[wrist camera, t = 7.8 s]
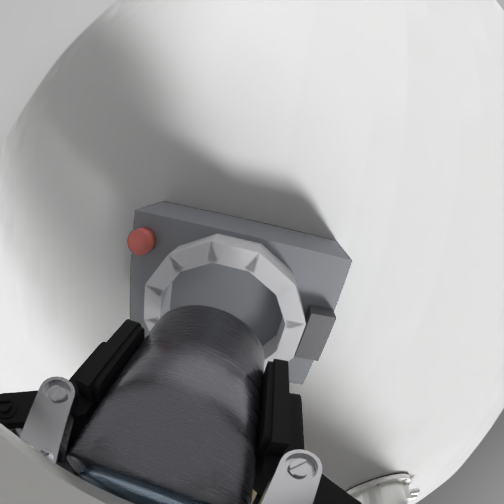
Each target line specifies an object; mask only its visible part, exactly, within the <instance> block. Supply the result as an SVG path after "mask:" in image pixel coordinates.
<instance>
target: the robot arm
mask: <svg viewBox="0 0 504 504" xmlns="http://www.w3.org/2000/svg"><path fill="white" fill-rule="evenodd" d="M144 339H145V330H144V328H142V327H141V324H140V323H138V322H135V321H132V320H129V319H127V320H126V321H125V322H124V323H123V324H122V325H121V327H120V328H119V329H118V330H117V331H116V332H115V333H114V334H113V336H112V337H111V338H110V339H109V340H108V341H107V342H102V343H101V344H100V345H99V346H98V347H97V348H96V349H95V351H94V352H93V353H92V354H91V355H90V356H89V357H88V359H87V360H86V361H85V362H84V363H83V364H82V366H81V367H80V368H79V369H78V370H77V371H76V373H75V374H74V375H73V376H72V377H71V378H70V380H67V379H65V378H63V377H51V378H49V379H47V380H45V381H44V382H43V383H42V385H41V386H40V388H39V391H29V392H17V393H3V394H0V504H134V503H132V502H129V501H127V500H124V499H122V498H120V497H117V496H115V495H113V494H111V493H108V492H106V491H104V490H102V489H100V488H98V487H96V486H94V485H92V484H90V483H88V482H86V481H84V480H83V479H81V478H79V477H78V475H79V474H78V473H77V472H76V471H75V470H74V469H73V468H72V467H71V465H70V464H69V462H68V460H67V454H68V452H69V451H70V449H71V448H72V446H73V444H74V443H75V441H76V440H77V438H78V437H79V435H80V433H81V432H82V430H83V429H84V427H85V426H86V424H87V422H88V421H89V419H90V418H91V416H92V415H93V413H94V412H95V410H96V409H97V407H98V406H99V404H100V403H101V401H102V400H103V398H104V397H105V395H106V394H107V392H108V391H109V389H110V388H111V386H112V385H113V383H114V382H115V380H116V379H117V378H118V376H119V375H120V373H121V372H122V370H123V369H124V367H125V366H126V365H127V363H128V362H129V360H130V359H131V357H132V356H133V355H134V353H135V352H136V350H137V349H138V347H139V346H140V345H141V343H142V342H143V340H144ZM322 467H323V466H322V463H321V461H320V459H319V458H318V457H317V456H316V455H315V454H313V453H312V452H309V451H307V450H304V436H303V419H302V403H301V396H300V395H298V394H291V393H289V366H288V361H285V360H280V359H274V360H273V362H271V361H268V363H267V365H266V368H265V371H264V374H263V387H262V399H261V410H260V422H259V433H258V443H257V454H256V465H255V474H254V484H253V490H254V491H255V492H256V494H255V496H254V498H253V500H252V502H251V504H408V502H407V501H410V500H414V499H415V498H416V497H417V494H418V493H419V491H420V490H419V488H415V489H412V490H409V487H408V485H409V484H410V482H411V477H410V475H408V474H394V475H389V476H385V477H381V478H377V479H374V480H371V481H368V482H366V483H363V484H361V485H358V486H356V487H354V488H352V489H350V490H348V491H347V492H345V491H344V490H343V489H341V488H340V487H339V486H337V485H336V484H334V483H333V482H332V481H331V480H329V479H328V478H327V477H325V476H324V475H323V474H322Z"/></svg>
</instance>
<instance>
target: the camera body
mask: <svg viewBox="0 0 504 504" xmlns="http://www.w3.org/2000/svg"><path fill="white" fill-rule="evenodd" d="M128 246H129V248H130V250H131V251H132V255H131V275H130V320H132V321H135V322H138V323H140V324H141V327H142V328H144V330H145V338H146V336H147V335H148V333H149V332H150V331H151V329H152V328H153V327H154V325H155V324H156V322H157V321H158V320H159V319H160V318H161V317H162V316H163V315H164V314H165V313H167V312H168V311H170V310H172V309H175V308H178V307H181V306H187V305H203V306H209V307H214V308H217V309H221V310H223V311H226V312H228V313H230V314H232V315H234V316H236V317H237V318H239V319H240V320H242V321H243V322H244V323H245V324H247V325H248V326H249V327H250V328H251V329H252V330H253V332H254V333H255V334H256V335H257V337H258V338H259V340H260V342H261V344H262V347H263V350H264V356H265V362H264V371H265V368H266V365H267V363H268V361H271V362H273V360H274V359H280V360H285V361H288V366H289V382H291V383H297V384H303V382H304V380H305V378H306V376H307V374H308V371H309V369H310V367H311V365H312V363H313V360H316V361H318V359H319V357H320V355H321V353H322V351H323V348H324V346H325V344H326V341H327V339H328V337H329V334H330V332H331V330H332V327H333V325H334V322H335V320H336V316H335V314H334V310H335V307H336V304H337V302H338V299H339V296H340V294H341V291H342V288H343V285H344V282H345V280H346V277H347V274H348V271H349V268H350V265H351V262H352V260H351V258H350V257H349V256H348V255H347V253H346V252H345V251H344V250H343V248H342V247H341V246H340V245H339V243H338V242H337V241H334V240H330V239H326V238H322V237H318V236H314V235H310V234H306V233H302V232H298V231H294V230H290V229H286V228H282V227H278V226H273V225H269V224H265V223H261V222H256V221H252V220H248V219H243V218H239V217H234V216H230V215H225V214H221V213H216V212H211V211H207V210H202V209H197V208H193V207H188V206H183V205H178V204H173V203H168V202H159V203H156V204H153V205H150V206H147V207H144V208H141V209H138V210H135V218H134V229H133V231H132V232H131V233H130V234H129V236H128Z"/></svg>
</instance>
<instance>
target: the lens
mask: <svg viewBox="0 0 504 504" xmlns="http://www.w3.org/2000/svg"><path fill="white" fill-rule="evenodd" d="M264 362H265V356H264V350H263V347H262V344H261V342H260V340H259V338H258V337H257V335H256V334H255V333H254V332H253V330H252V329H251V328H250V327H249V326H248V325H247V324H245V323H244V322H243V321H242V320H240V319H239V318H237V317H236V316H234V315H232V314H230V313H228V312H226V311H223V310H221V309H217V308H214V307H209V306H203V305H187V306H181V307H178V308H175V309H172V310H170V311H168V312H167V313H165V314H164V315H163V316H162V317H161V318H160V319H159V320H158V321H157V322H156V324H155V325H154V327H153V328H152V329H151V331H150V332H149V333H148V335H147V336H146V338H145V339H144V340H143V342H142V343H141V345H140V346H139V347H138V349H137V350H136V352H135V353H134V355H133V356H132V357H131V359H130V360H129V362H128V363H127V365H126V366H125V367H124V369H123V370H122V372H121V373H120V375H119V376H118V378H117V379H116V380H115V382H114V383H113V385H112V386H111V388H110V389H109V391H108V392H107V394H106V395H105V397H104V398H103V400H102V401H101V403H100V404H99V406H98V407H97V409H96V410H95V412H94V413H93V415H92V416H91V418H90V419H89V421H88V422H87V424H86V426H85V427H84V429H83V430H82V432H81V433H80V435H79V437H78V438H77V440H76V441H75V443H74V444H73V446H72V448H71V449H70V451H69V452H68V454H67V460H68V462H69V464H70V465H71V467H72V468H73V469H74V470H75V471H76V472H77V473H78V474H79V475H78V477H79V478H81V479H83V480H84V481H86V482H88V483H90V484H92V485H94V486H96V487H98V488H100V489H102V490H104V491H106V492H108V493H111V494H113V495H115V496H117V497H120V498H122V499H124V500H127V501H129V502H132V503H134V504H251V502H252V493H253V484H254V474H255V465H256V454H257V443H258V433H259V422H260V410H261V399H262V387H263V374H264Z"/></svg>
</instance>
